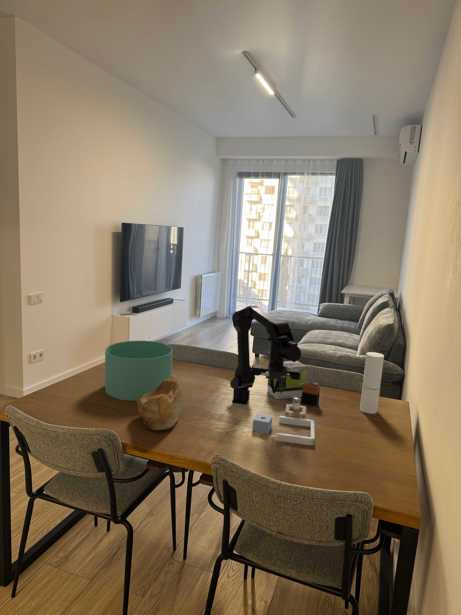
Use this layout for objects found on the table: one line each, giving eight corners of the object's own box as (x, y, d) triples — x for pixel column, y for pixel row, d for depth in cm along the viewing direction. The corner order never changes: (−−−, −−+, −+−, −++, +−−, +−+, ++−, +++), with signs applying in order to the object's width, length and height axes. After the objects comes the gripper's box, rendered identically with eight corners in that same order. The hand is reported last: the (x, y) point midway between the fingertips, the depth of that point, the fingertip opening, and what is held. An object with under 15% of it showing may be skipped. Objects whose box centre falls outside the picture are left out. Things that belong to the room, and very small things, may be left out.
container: (184, 387, 197) (186, 348, 194) (139, 407, 173) (140, 363, 169) (138, 373, 213) (139, 337, 210) (90, 389, 188) (90, 349, 185)
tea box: (295, 389, 203) (297, 359, 200) (305, 397, 193) (308, 366, 191) (266, 391, 198) (268, 361, 195) (275, 399, 188) (277, 368, 186)
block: (252, 430, 158) (253, 419, 157) (256, 424, 164) (257, 413, 163) (267, 434, 156) (268, 422, 155) (271, 427, 162) (272, 416, 161)
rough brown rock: (149, 406, 176) (147, 372, 173) (188, 408, 172) (186, 374, 169) (125, 433, 153) (121, 394, 150) (168, 436, 150) (165, 397, 147)
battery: (315, 407, 182) (317, 385, 181) (300, 403, 186) (302, 382, 184) (318, 404, 186) (321, 382, 184) (304, 400, 189) (306, 379, 188)
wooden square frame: (284, 421, 167) (285, 411, 167) (285, 413, 175) (286, 403, 174) (305, 423, 166) (305, 414, 165) (305, 415, 174) (305, 406, 173)
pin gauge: (290, 418, 169) (292, 399, 168) (291, 414, 172) (292, 396, 171) (298, 419, 168) (300, 400, 167) (299, 415, 172) (300, 397, 170)
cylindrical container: (377, 409, 185) (384, 354, 180) (376, 415, 178) (383, 358, 174) (361, 405, 188) (367, 351, 183) (358, 411, 181) (365, 355, 177)
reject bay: (276, 440, 151) (277, 434, 151) (279, 421, 167) (279, 415, 166) (313, 445, 149) (314, 439, 148) (313, 426, 164) (313, 420, 164)
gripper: (250, 357, 155) (248, 398, 158) (302, 363, 152) (298, 403, 155) (253, 349, 166) (250, 387, 169) (301, 354, 163) (298, 392, 166)
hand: (273, 392), depth 164 cm, fingers closed
